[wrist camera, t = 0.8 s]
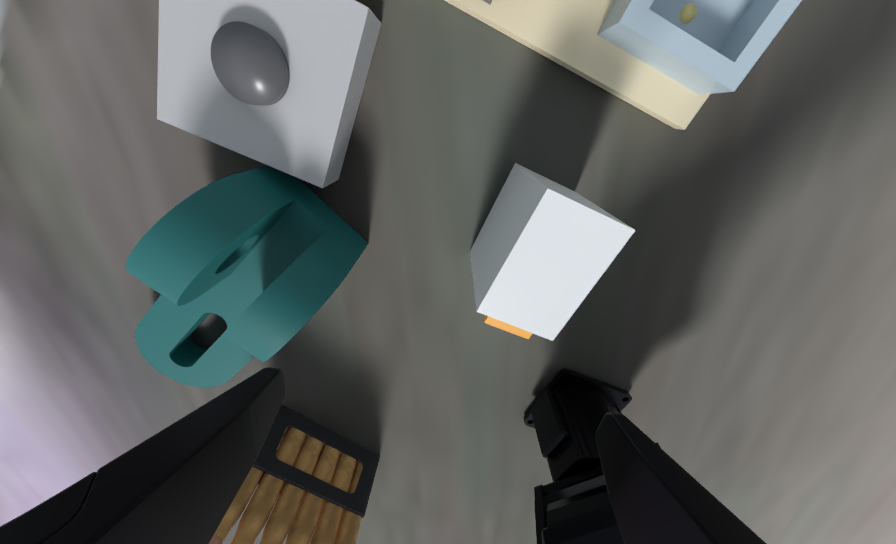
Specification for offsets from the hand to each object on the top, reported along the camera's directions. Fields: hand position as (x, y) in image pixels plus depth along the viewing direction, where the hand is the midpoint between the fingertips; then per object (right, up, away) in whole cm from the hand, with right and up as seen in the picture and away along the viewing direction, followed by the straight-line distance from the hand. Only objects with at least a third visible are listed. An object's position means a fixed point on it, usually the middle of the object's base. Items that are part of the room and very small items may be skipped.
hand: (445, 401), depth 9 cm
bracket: (-14, +2, +14) cm, 20 cm away
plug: (+5, +7, +11) cm, 13 cm away
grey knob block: (-8, +14, +7) cm, 18 cm away
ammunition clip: (-11, -11, +20) cm, 26 cm away
